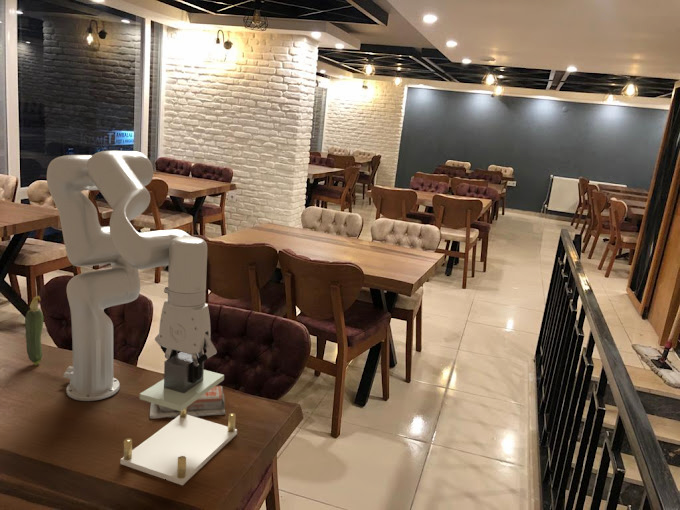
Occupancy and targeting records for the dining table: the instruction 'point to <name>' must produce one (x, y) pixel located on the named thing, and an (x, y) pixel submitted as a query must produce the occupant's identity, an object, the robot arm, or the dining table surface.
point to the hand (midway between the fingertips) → (184, 376)
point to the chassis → (179, 447)
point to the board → (180, 397)
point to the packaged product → (195, 406)
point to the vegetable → (34, 331)
